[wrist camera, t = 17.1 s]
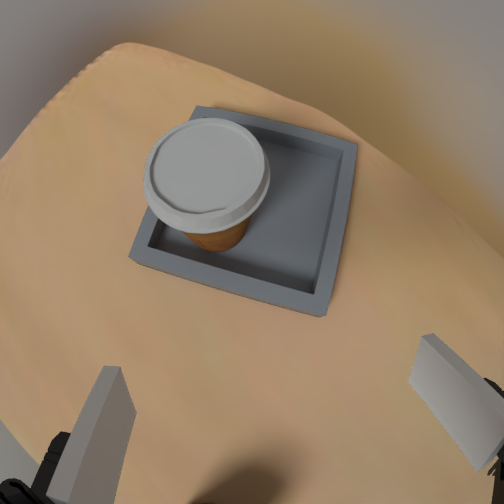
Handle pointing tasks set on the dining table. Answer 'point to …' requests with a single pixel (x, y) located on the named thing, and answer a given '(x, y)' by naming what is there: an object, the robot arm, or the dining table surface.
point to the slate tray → (271, 223)
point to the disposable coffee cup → (207, 181)
